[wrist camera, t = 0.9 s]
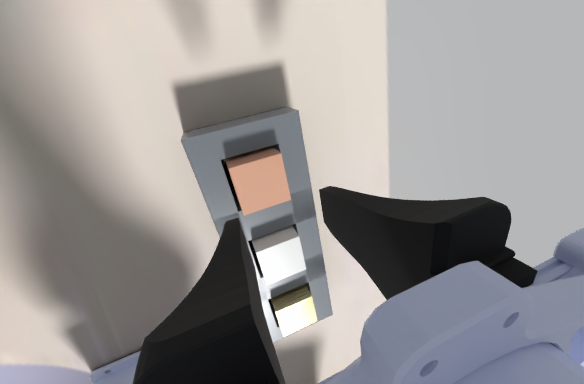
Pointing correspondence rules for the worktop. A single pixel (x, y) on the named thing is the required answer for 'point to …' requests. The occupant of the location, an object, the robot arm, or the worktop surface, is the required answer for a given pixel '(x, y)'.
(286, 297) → the brass key
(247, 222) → the keypad
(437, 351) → the robot arm
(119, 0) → the worktop surface
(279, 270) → the grey key
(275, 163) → the terracotta key
